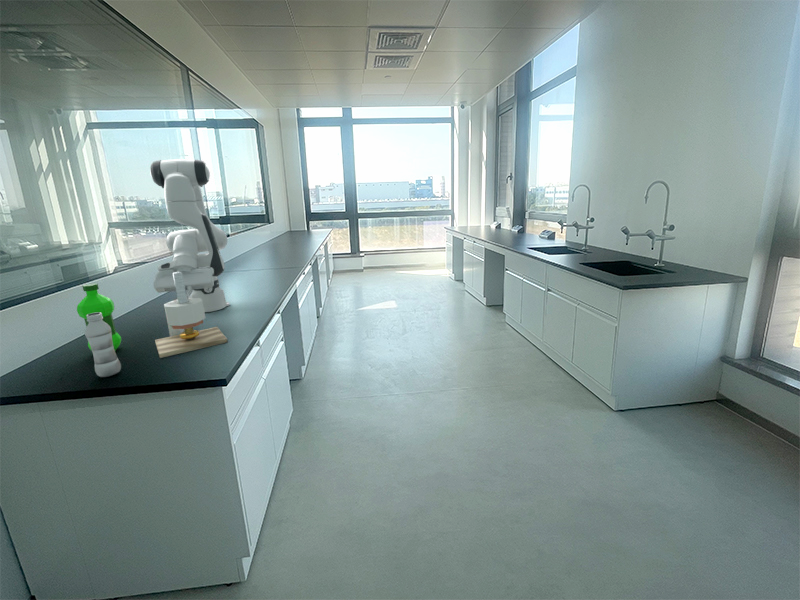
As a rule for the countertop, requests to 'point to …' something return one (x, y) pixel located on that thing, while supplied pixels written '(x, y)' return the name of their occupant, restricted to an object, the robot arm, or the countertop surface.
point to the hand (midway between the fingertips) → (184, 298)
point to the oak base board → (189, 342)
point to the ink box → (174, 331)
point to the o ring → (188, 325)
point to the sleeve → (184, 312)
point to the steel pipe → (182, 298)
